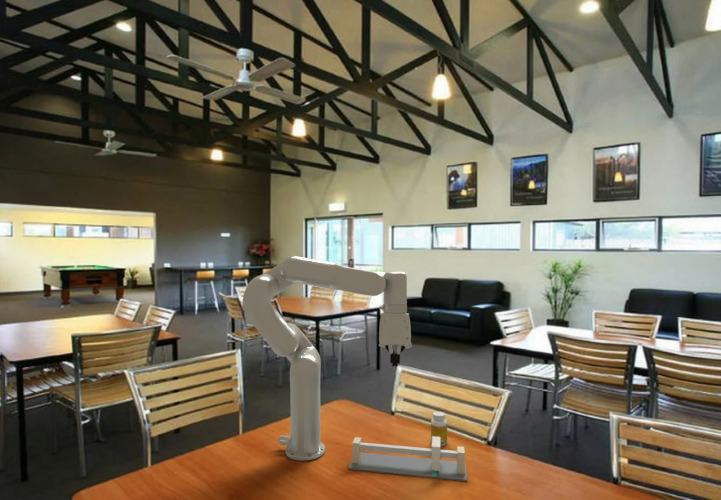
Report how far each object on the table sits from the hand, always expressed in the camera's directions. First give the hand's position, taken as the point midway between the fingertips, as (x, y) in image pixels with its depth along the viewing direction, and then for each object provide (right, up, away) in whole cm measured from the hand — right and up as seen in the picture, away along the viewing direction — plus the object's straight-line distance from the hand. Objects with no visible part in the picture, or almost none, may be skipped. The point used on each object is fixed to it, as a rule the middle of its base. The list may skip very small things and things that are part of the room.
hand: (395, 365), depth 137 cm
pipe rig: (+3, -27, -12) cm, 30 cm away
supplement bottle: (+15, -27, +4) cm, 31 cm away
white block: (+11, -26, -14) cm, 31 cm away
